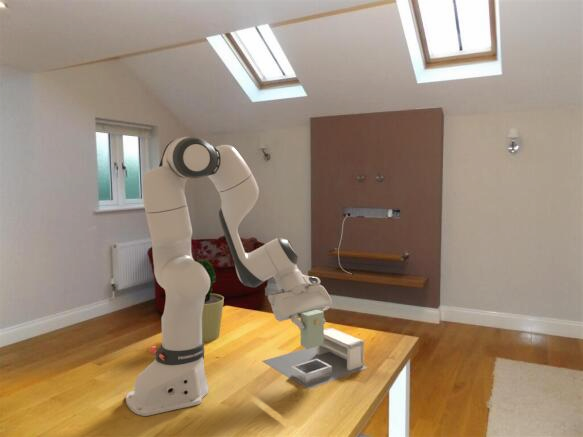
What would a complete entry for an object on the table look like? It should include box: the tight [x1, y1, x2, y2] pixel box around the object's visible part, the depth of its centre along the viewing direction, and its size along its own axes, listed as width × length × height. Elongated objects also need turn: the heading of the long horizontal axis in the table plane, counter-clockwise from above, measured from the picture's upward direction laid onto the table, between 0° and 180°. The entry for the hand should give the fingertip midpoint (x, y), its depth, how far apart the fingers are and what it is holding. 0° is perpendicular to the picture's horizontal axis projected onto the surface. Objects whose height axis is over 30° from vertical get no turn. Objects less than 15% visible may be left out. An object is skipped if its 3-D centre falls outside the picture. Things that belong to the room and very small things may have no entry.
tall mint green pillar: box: [300, 309, 325, 349], centre depth 137 cm, size 6×4×10 cm
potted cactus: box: [195, 259, 225, 343], centre depth 172 cm, size 15×15×30 cm
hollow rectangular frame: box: [291, 359, 332, 385], centre depth 138 cm, size 10×7×3 cm
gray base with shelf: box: [262, 327, 369, 390], centre depth 146 cm, size 24×24×9 cm
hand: (313, 326), depth 136 cm, fingers closed on tall mint green pillar, 6 cm apart
